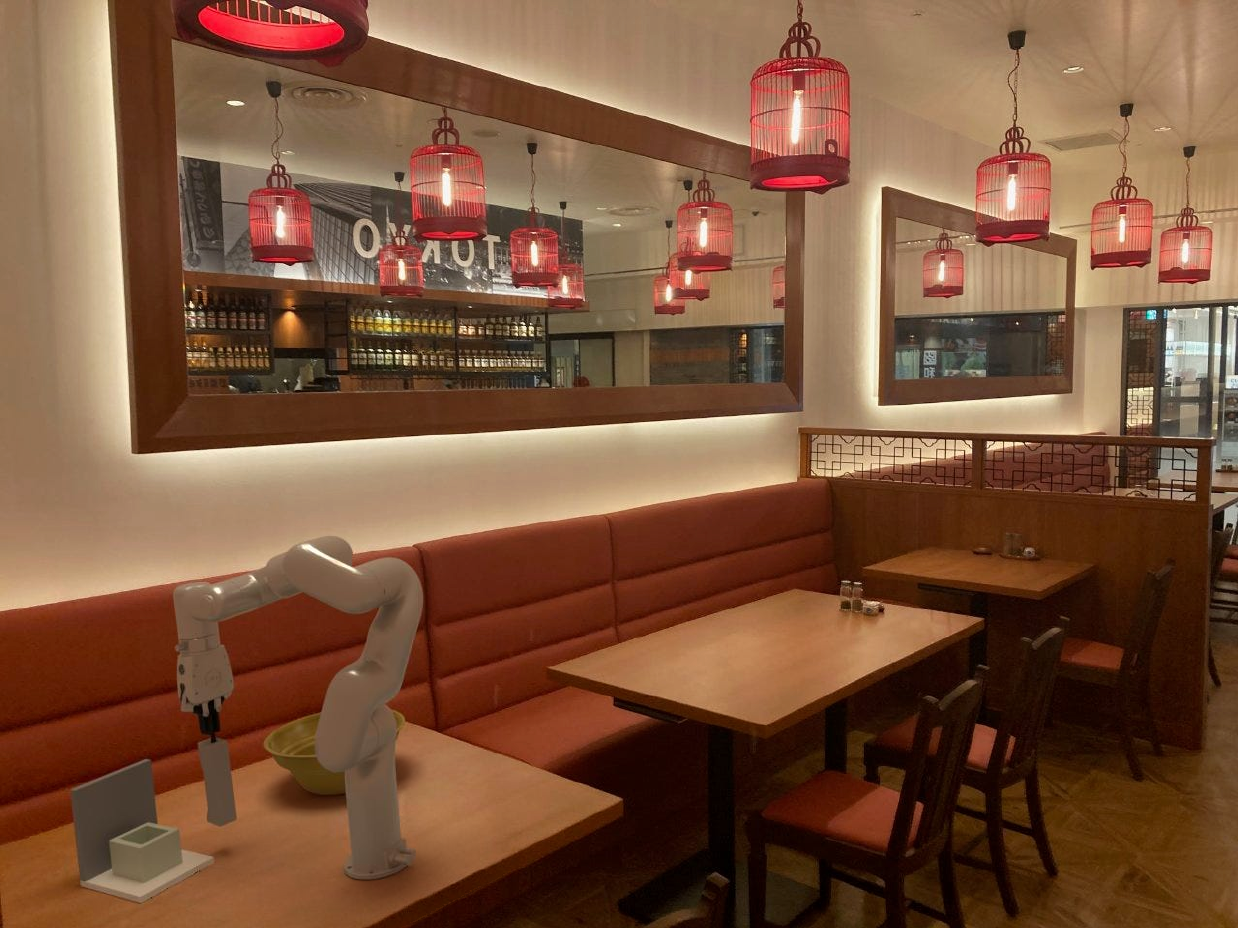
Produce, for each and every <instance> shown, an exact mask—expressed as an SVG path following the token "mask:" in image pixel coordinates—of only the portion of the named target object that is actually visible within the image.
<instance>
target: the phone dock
mask: <svg viewBox="0 0 1238 928" xmlns="http://www.w3.org/2000/svg"><path fill="white" fill-rule="evenodd" d="M152 767H153V766H152V759H148V758H144V759H142V760H140V761H138V762H136V763H133V764H130V765H128V766H125V767H122V768H120V769H119V770H115V771H112V772H110V773H107V774H105V775H103V776H100V777H98V778H95V779H92V780H90V781H88V782H86V783H83V784H80V785H79V786H76V787H73V788H71V789H70V791H69V793H70V799H71V809H72V811H71V812H72V819H73V827H74V829H73V830H74V836H75V845H76V853H77V854H76V855H77V861H78V871H79V882H80V887H83V888H86V889H90V890H94V891H97V892H99V893H104V894H107V895H111V896H114V897H118V898H121V899H124V900H128V901H132V902H134V903H135V902H136V903H139V904H142V903H144V902H146V901H147V900H150V899H151V897H152V898H153V897H155V896H157V895H158V893H159V894H161V893H162V892H164V891H166V890H168V889H170V888H171V887H173V886H175V885H176V884H178V883H180V882H182V881H184V880H185V879H187V878H189V877H191V876H193V875H194V873H195V872H197V871H198V872H200V871H202V870H204V869H205V867H206V866H208V865H209V866H211V865H212V864H211V863H213V862H214V863H215V857H214V856H210V855H206V854H202V853H198V852H194V851H190V850H186V849H182V845H181V836H180V829H179V828H176V827H171V826H167V825H164V824H163V825H161V824H158V814H157V805H156V796H155V795H156V794H155V787H154V778H153V777H154V775H153V768H152ZM214 863H213V864H214ZM210 864H211V865H210ZM209 866H208V867H209ZM203 868H204V869H203ZM206 868H207V867H206ZM201 869H202V870H201ZM199 870H200V871H199ZM198 872H197V873H198ZM195 874H196V873H195ZM169 887H170V888H169ZM167 888H168V889H167ZM165 889H166V890H165ZM160 892H161V893H160ZM156 894H157V895H156Z"/></svg>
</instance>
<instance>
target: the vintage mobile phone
mask: <svg viewBox="0 0 1238 928" xmlns="http://www.w3.org/2000/svg"><path fill="white" fill-rule="evenodd" d="M207 704H208V710H209V715H212V710H211V702H208V703H207ZM212 720H213V718H212ZM213 728H214V724H213ZM197 749H198V755H199V760H200V766H201V769H202V772H203V781H204V789H205V797H206V802H207V803H206V804H207V806H206V807H207V811H206V821H207V823H209V824H210V825H211V824H212V825H215V826H217V827H223V826H225V825H228V824H229V823H232V822H235V821H236V820H237V819H238V818H237V810H236V809H237V808H236V801H235V792H234V786H233V785H234V784H233V777H232V768H231V761H230V759H231V758H230V753H229V744H228V741H227V740H226V739H223V738H219V737H216V732H215V729H214V733H213V734H212V735H210V738H207V739H205V740H202V741H199V742H197Z"/></svg>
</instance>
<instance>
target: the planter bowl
mask: <svg viewBox="0 0 1238 928" xmlns="http://www.w3.org/2000/svg"><path fill="white" fill-rule="evenodd" d="M390 710H391V711H392V713H393V715H394V717H395V721H396V741H397V740H398V738H399V735H400V734H399V733H400V731H401V729H402V728H403V727H404V725H405V723H406V718H405V716H404V715H403V713H401V712H399V711H397V710H394V709H391V708H390ZM320 715H321V712H318V713H314V714H310V715H307V716H304V717H301V718H297V719H295V720H293V721H290V722H288V723H285V724H284V725H282V726H280V727H278V728H276V729H274V730H273V731H272V732H271V733H270V734H268V735H267V736H266V737H265V738H264V739H265V740H264V741H263V748H264V749H265V750H266V751H267V752H269V753H270V754H271V756H272V758H273V760H274V761H275V762H276V764H277V765H279V766H280V767H281V768H282V769H285V770H288V771H289V772H290V773H291V775H292V776H293V778H294V779H295V780H296V781H297V782H298V784H299V785H301V787H302V788H303V789H305V790H306V791H308V792H310V793H312V794H315V795H319V796H337V795H342V794H346V788H345V771H343V772H332V771H329V770H327V769H326V768H324V767H323V766H322V765H321V764H320V762H319V761H318V759H317V756H316V753H315V735H316V731H317V727H318V723H319V719H320Z"/></svg>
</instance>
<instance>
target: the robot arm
mask: <svg viewBox="0 0 1238 928" xmlns="http://www.w3.org/2000/svg"><path fill="white" fill-rule="evenodd" d="M353 562H354V551H353V548H352V547H351V545H350V543H349V542H348V541H347V540H345V539H344V538H342V537H340V536H335V535H325V536H321V537H320V536H319V537H316V538H314V539H309V540H306V541H302V542H299V543H297V544H295V545H292V547H290V548H289V549H288V550H287V551H285V552H282V553H279V554H278V555H275V556H273V557H271V558H270V559H269V560H268V561H267V563H266V565H265V566H263V567H261V568H258V569H256V570H253V571H251V572H248V573H245V574H242V575H238V576H236V577H231V578H228V579H225V580H221V581H218V582H215V583H212V584H211V583H210V582H208V581H196V582H195V581H194V582H189V583H188V582H187V583H184V584H180V585H178V586H176V587H175V588H174V589H173V594H172V596H173V597H172V598H173V605H174V607H173V608H174V613H175V621H176V630H177V637H178V640H177V641H178V644H176V645H174V650H175V651H176V652H179V655H177V661H176V662H177V663H176V683H177V687H176V688H177V694H178V700H179V702H180V703H181V706H180V711H181V712H185V713H189V712H191V713H193V714H194V715H195V717H196V716H197V718H198V724H199V730H200V733H201V735H206V736H207V735H208V736H211V735H212V734H213V733H214V729H215V733H219V732H221V721H220V714H219V713H220V712H221V710H222V706H223V703H224V702H225V700H226V699H228V698H229V697H230V696H231V695H232V692H233V690H234V689H235V684H234V683H235V682H234V677H233V671H232V666H231V663H230V662H231V661H230V658H229V656H228V652H227V649H226V648H225V645H224V644H221V639H220V638H221V637H220V630H219V622H223V621H226V620H229V619H232V618H234V617H236V616H240V615H242V614H243V615H244V614H245V613H249V612H253V611H255V610H257V609H260V608H262V607H265V606H267V605H270V604H272V603H275V602H277V601H279V600H282V599H289V598H291V597H294V596H296V595H299V594H301V593H305V594H306V595H308V596H310V597H312V598H314V599H316V600H318V601H320V602H322V603H324V604H327V605H329V606H331V607H332V608H335V609H336V610H339V611H341V612H343V613H347V614H352V615H360V614H361V615H362V614H364V613H367V612H370V611H373V610H374V609H375V610H376V609H377V608H379V609H378V611H377V613H376V615H375V617H374V619H373V621H372V623H371V625H370V627H369V629H368V633H367V637H366V642H365V644H364V647H363V650H362V653H361V655H360V657H359V658H358V659H357V660H355V661H354V662H353V663H350V664H349V665H346V666H345V667H343V668H342V669H340V670H339V671H338V672H337V673H336V674H335V675H334V676H333V678H332V679H331V682H330V683H329V684H328V687H327V690H326V693H325V697H324V701H323V704H322V709H321V712H320V713H321V715H320V719H319V723H318V727H317V731H316V735H315V753H316V756H317V759H318V761H319V762H320V764H321V765H322V766H323V767H324V768H326V769H327V770H329V771H332V772H343V771H345V788H346V793H345V797H346V798H345V799H346V807H347V810H346V811H347V820H348V829H349V830H348V831H349V841H350V851H351V854H350V855H349V856H348V857H347V858H346V859H345V861H344V863H343V867H344V873H345V874H346V875H347V876H348V877H350V878H352V879H356V880H365V881H366V880H376V879H382V878H384V877H385V878H386V877H389V876H391V875H393V874H394V875H395V873H398V872H399V871H401V870H403V869H404V868H406V867H408V866H412V865H413V862H414V857H416V854H417V851H416V849H413V848H409V847H408V846H407V839H406V838H405V837H402V830H401V820H400V819H401V818H400V809H399V808H400V807H399V797H398V786H397V771H396V743H397V740H396V721H395V717H394V715H393V713H392V711H391V710H392V709H391V708H390V707H389V706H388V705H386V704H387V703H388V702H389V701H391V700H392V699H394V698H395V697H396V696H397V695H398V694H399V693H400V690H401V687H402V685H403V683H404V682H403V681H404V678H405V675H406V671H407V667H408V664H409V659H410V655H411V652H412V647H413V642H414V639H415V637H416V633H417V630H418V627H419V623H420V619H421V617H422V612H423V605H424V592H423V587H422V583H421V581H420V579H419V577H418V575H417V572H416V571H415V570H414V568H412V567H411V565H410V564H408V563H407V561H404V560H403V559H400V558H397V557H391V556H390V557H382V558H378V559H377V558H376V559H373V560H370V561H368V562H364V563H362V564H359V565H356V566H352V565H353ZM208 702H211V710H212V715H209V710H208V704H207V703H208ZM390 709H391V710H390ZM212 718H213V720H212ZM213 724H214V728H213Z"/></svg>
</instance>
